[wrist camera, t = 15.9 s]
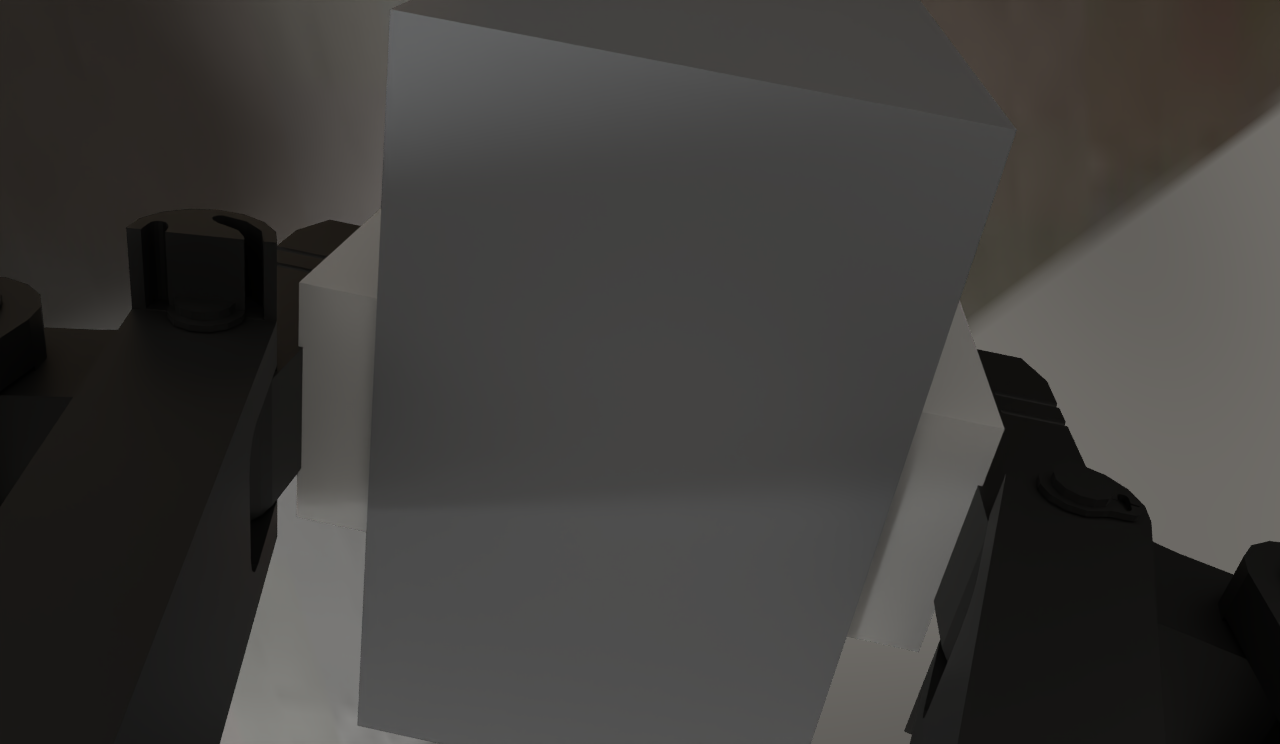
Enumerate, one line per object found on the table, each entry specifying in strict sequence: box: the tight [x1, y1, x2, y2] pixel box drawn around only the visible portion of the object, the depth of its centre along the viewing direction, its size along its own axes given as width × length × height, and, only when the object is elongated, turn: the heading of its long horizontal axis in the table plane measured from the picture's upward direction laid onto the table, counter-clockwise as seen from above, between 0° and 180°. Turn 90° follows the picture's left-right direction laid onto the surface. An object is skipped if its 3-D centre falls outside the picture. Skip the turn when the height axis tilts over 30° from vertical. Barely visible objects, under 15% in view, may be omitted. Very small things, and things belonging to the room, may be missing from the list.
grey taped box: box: [358, 0, 1017, 744], centre depth 13 cm, size 5×8×7 cm, turn 170°
